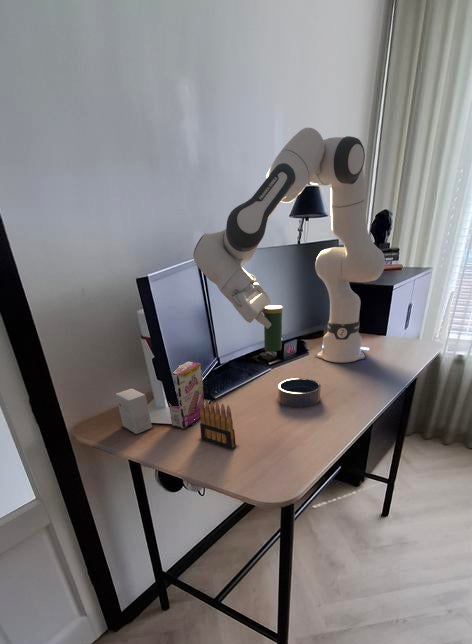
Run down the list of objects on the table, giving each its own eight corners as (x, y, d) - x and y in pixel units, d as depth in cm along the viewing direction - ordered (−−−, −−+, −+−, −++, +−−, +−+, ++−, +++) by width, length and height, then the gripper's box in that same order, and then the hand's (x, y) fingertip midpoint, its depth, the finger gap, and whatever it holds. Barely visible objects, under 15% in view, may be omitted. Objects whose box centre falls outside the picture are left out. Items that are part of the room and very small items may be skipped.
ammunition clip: (201, 439, 111) (196, 398, 104) (205, 437, 112) (200, 396, 105) (231, 449, 105) (228, 407, 99) (236, 446, 106) (233, 404, 100)
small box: (152, 428, 118) (146, 394, 113) (136, 434, 115) (128, 400, 110) (138, 420, 124) (131, 387, 118) (122, 426, 121) (114, 393, 115)
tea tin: (266, 346, 125) (265, 305, 119) (283, 346, 124) (283, 305, 117) (262, 351, 121) (261, 309, 114) (280, 352, 120) (280, 309, 113)
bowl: (282, 391, 136) (282, 377, 134) (321, 393, 133) (322, 379, 130) (274, 407, 126) (274, 392, 123) (317, 410, 123) (318, 394, 120)
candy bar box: (185, 429, 116) (177, 374, 107) (171, 426, 119) (163, 372, 110) (207, 414, 124) (201, 362, 115) (194, 412, 126) (187, 360, 117)
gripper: (236, 284, 105) (272, 324, 108) (254, 274, 122) (285, 308, 125) (221, 303, 109) (257, 340, 112) (240, 290, 125) (271, 323, 128)
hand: (272, 323), depth 118 cm, fingers closed on tea tin, 5 cm apart
